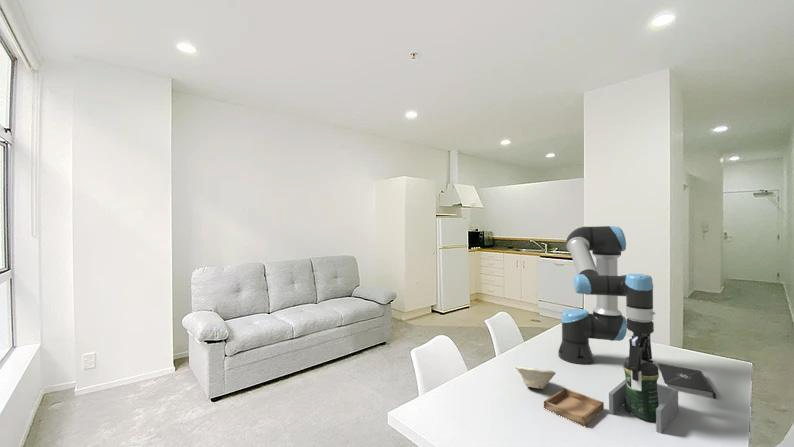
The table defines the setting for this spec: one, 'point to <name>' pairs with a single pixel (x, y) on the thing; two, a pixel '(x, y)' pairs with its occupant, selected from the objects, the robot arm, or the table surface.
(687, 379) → the book
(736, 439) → the table surface
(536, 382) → the bowl
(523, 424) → the table surface
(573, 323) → the robot arm
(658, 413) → the bay
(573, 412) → the tray
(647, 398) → the coffee jar
